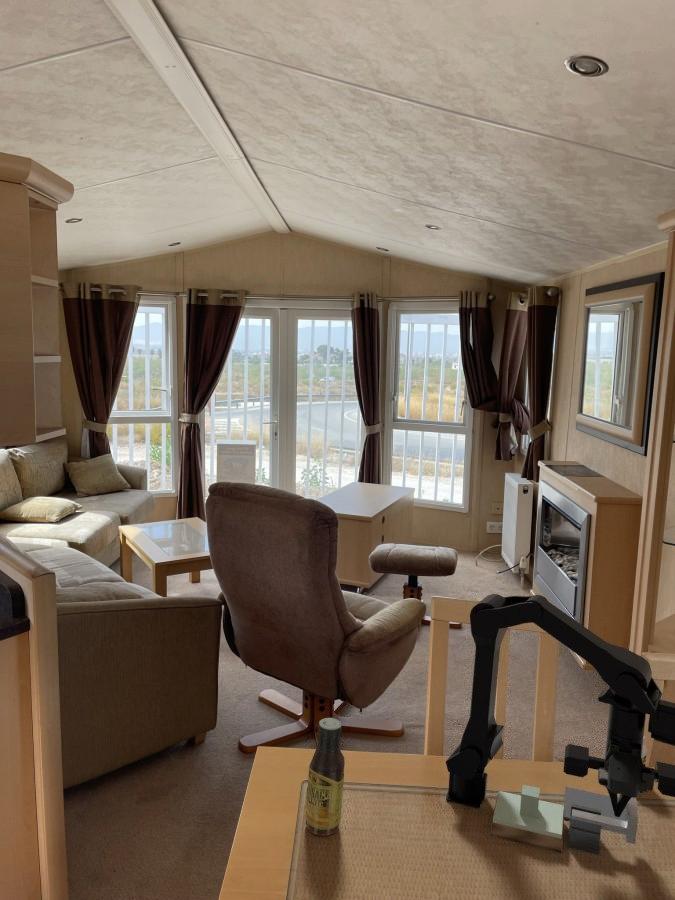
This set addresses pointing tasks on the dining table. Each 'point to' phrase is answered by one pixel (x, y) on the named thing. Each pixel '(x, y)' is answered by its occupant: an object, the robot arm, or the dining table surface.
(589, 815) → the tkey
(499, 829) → the case
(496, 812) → the cover
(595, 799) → the grey flat plate
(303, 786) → the dining table surface
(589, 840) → the lock block
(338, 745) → the sauce bottle
